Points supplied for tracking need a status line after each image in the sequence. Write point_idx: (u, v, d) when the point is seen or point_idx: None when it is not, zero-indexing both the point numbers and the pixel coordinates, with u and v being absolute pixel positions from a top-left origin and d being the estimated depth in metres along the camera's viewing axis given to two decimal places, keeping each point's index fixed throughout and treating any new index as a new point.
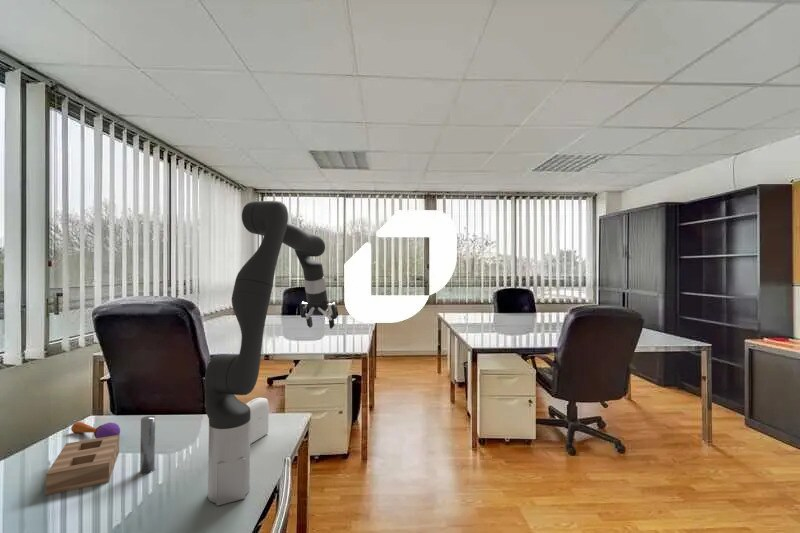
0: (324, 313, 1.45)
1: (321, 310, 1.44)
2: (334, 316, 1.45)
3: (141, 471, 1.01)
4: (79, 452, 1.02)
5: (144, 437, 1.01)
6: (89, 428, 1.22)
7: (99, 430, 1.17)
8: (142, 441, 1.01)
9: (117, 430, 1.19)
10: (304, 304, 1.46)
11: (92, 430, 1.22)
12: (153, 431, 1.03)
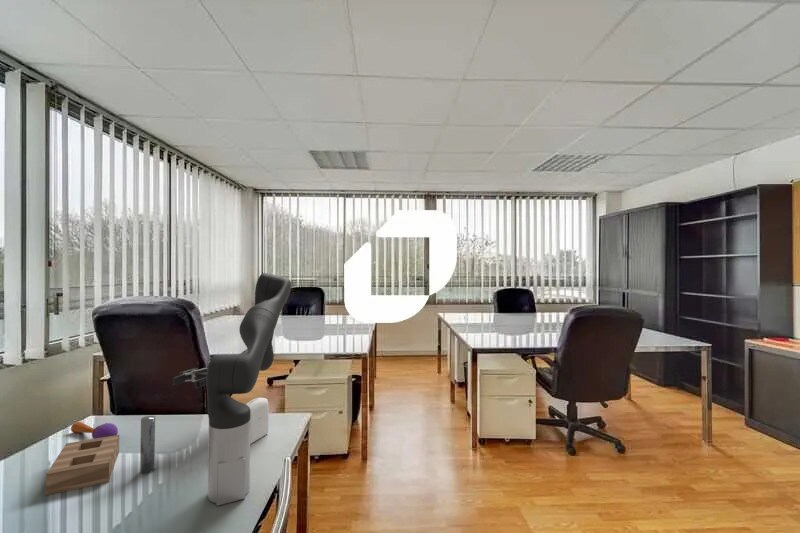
0: None
1: None
2: None
3: (141, 471, 1.01)
4: (79, 452, 1.02)
5: (144, 437, 1.01)
6: (88, 428, 1.22)
7: (96, 431, 1.16)
8: (142, 441, 1.01)
9: (114, 431, 1.18)
10: None
11: (90, 430, 1.21)
12: (153, 431, 1.03)
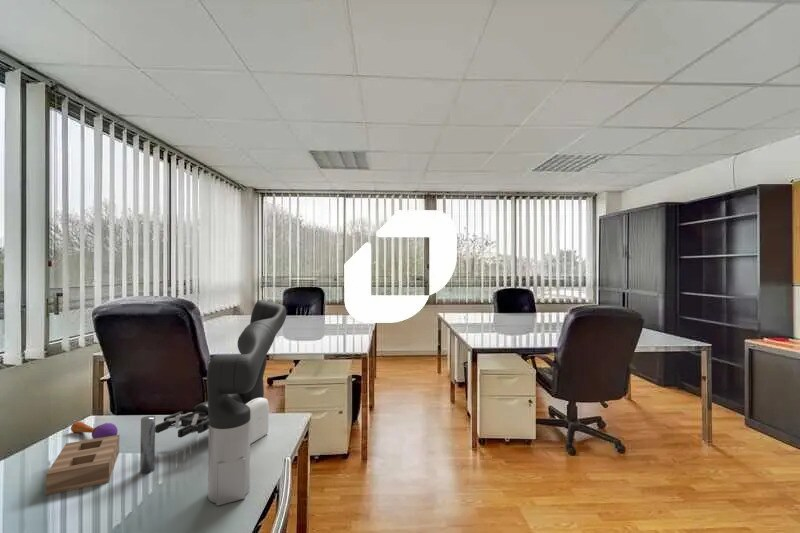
0: (195, 418, 1.14)
1: (196, 415, 1.15)
2: (201, 423, 1.11)
3: (141, 471, 1.01)
4: (79, 452, 1.02)
5: (144, 437, 1.01)
6: (88, 428, 1.22)
7: (96, 430, 1.16)
8: (142, 441, 1.01)
9: (114, 431, 1.19)
10: (182, 415, 1.19)
11: (90, 430, 1.21)
12: (153, 431, 1.03)
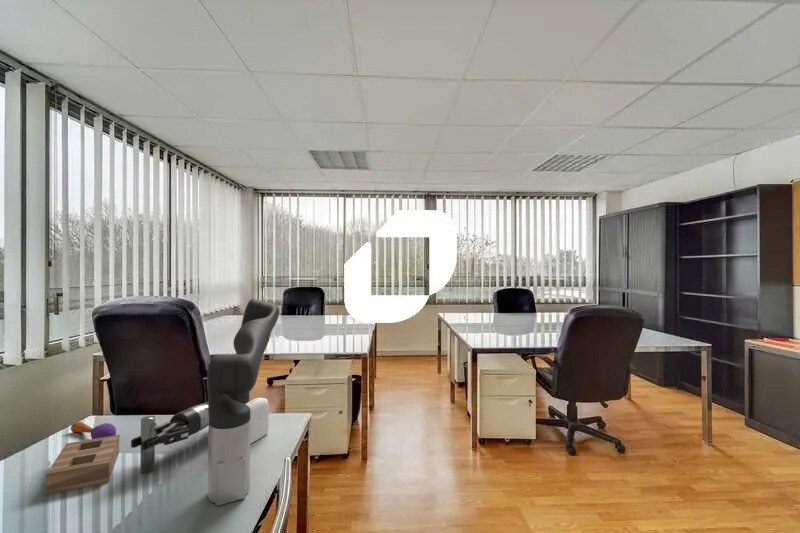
0: (168, 428, 1.06)
1: (172, 425, 1.08)
2: (168, 434, 1.04)
3: (141, 471, 1.01)
4: (79, 452, 1.02)
5: (144, 437, 1.01)
6: (87, 428, 1.22)
7: (95, 431, 1.16)
8: (142, 441, 1.01)
9: (113, 431, 1.18)
10: (157, 425, 1.11)
11: (89, 430, 1.21)
12: (153, 431, 1.03)
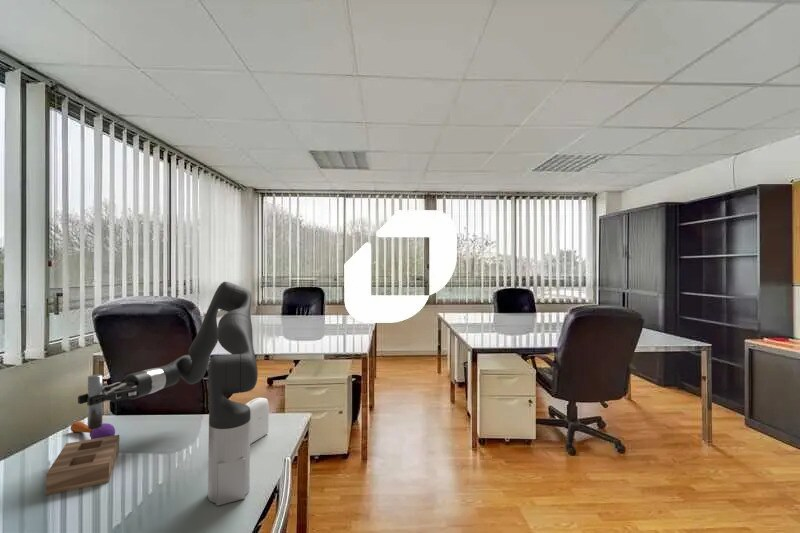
0: (116, 387, 1.10)
1: (121, 385, 1.12)
2: (115, 392, 1.07)
3: (88, 426, 1.05)
4: (79, 452, 1.02)
5: (91, 393, 1.05)
6: (86, 428, 1.22)
7: (93, 431, 1.16)
8: None
9: (111, 431, 1.18)
10: None
11: (89, 430, 1.21)
12: (100, 389, 1.06)
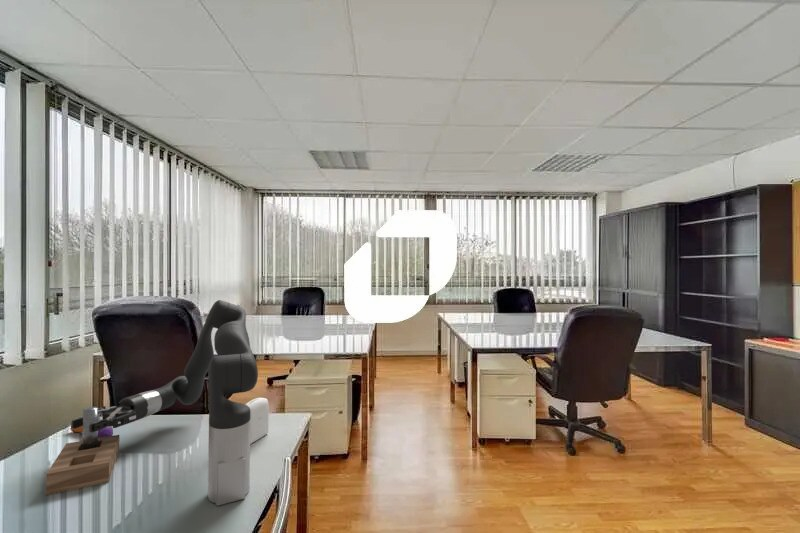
0: (115, 412, 1.10)
1: (118, 409, 1.11)
2: (117, 417, 1.07)
3: None
4: (79, 452, 1.02)
5: (86, 427, 1.04)
6: None
7: None
8: (84, 431, 1.05)
9: (109, 432, 1.18)
10: None
11: None
12: (95, 421, 1.06)
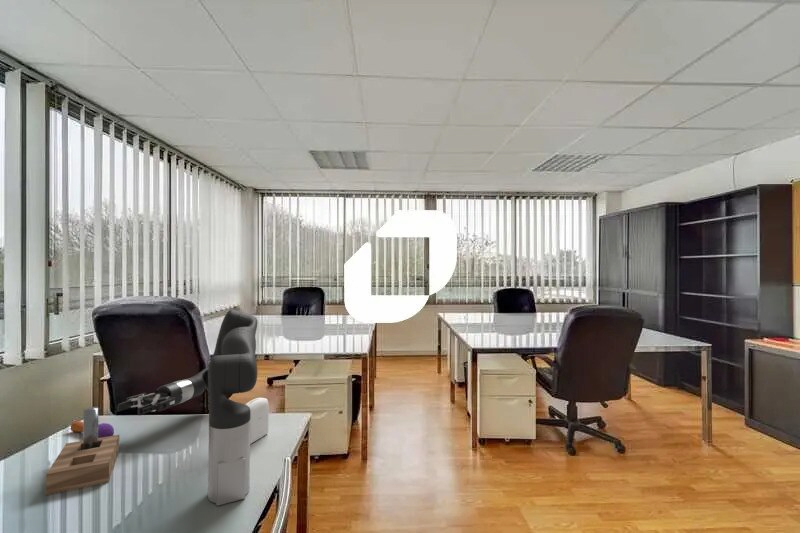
0: (156, 398, 1.21)
1: (157, 396, 1.23)
2: (161, 402, 1.19)
3: None
4: (79, 452, 1.02)
5: (86, 427, 1.04)
6: None
7: None
8: (84, 431, 1.05)
9: (110, 431, 1.18)
10: None
11: None
12: (96, 421, 1.06)
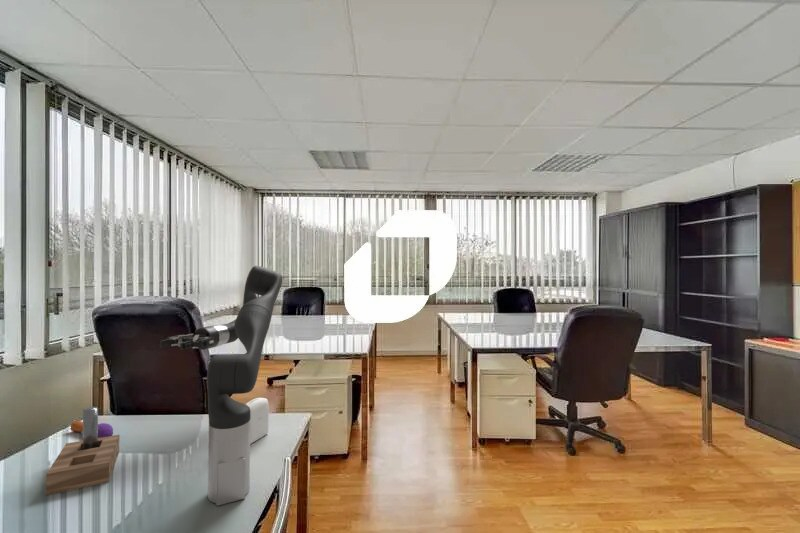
0: (196, 336, 1.24)
1: (197, 335, 1.26)
2: (201, 339, 1.22)
3: None
4: (79, 452, 1.02)
5: (86, 427, 1.04)
6: None
7: None
8: (84, 431, 1.04)
9: (109, 431, 1.18)
10: (184, 337, 1.30)
11: None
12: (95, 421, 1.06)
